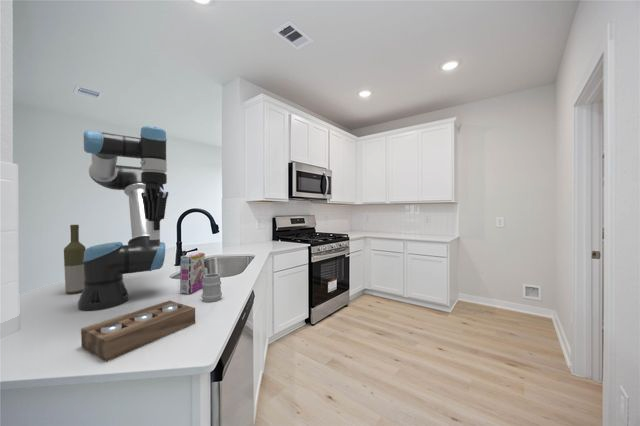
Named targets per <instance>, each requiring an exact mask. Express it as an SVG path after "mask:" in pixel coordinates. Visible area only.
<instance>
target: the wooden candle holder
mask: <svg viewBox="0 0 640 426" xmlns="http://www.w3.org/2000/svg"><path fill="white" fill-rule="evenodd" d="M170 304H177V305H178V309H176V310H173V311H170V312H168V313H166V312H163V311H162V307H164V306H166V305H170ZM142 313H152V316H153V318H151V319H148V320H145V321H142V322H139V323H137V322H135V321H134V317H135V316H136V315H139V314H142ZM112 323H121V324H122V329H120V330H117V331H114V332H111V333H108V334H106V335H103V334H101V328H102V327H103V326H105V325H108V324H112ZM194 324H196V307H193V306H189V305H186V304H183V303H181V302H175V301H173V300H168V301H163V302H161V303H157V304H153V305H151V306H148V307H143V308H141V309H139V310H135V311H132V312H128V313H126V314H122V315H119V316H115V317H114V318H110V319H107V320H103V321H100V322H98V323H94V324H91V325H88V326H85V327H82V328H81V329H80V331H81V332H80V333H81V335H80V337H81V345H80V346H81V348H83V349H84V350H87V351H88V353H91V354H92V355H95V356H96V357H97V358H100V359H101V360H103V361H104V362H109V361H111V360H114V359H115V358H117V357H120V356H122V355H125V354H127V353H130V352H132V351H134V350H137V349H139V348H141V347H144V346H146V345H147V344H150V343H153V342H155V341H157V340H160V339H162V338H164V337H166V336H169V335H171V334H174V333H176V332H177V331H178V332H179V331H180V330H183V329H185V328H188V327H189V326H192V325H194Z"/></svg>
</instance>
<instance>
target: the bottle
mask: <svg viewBox="0 0 640 426" xmlns="http://www.w3.org/2000/svg"><path fill="white" fill-rule="evenodd" d="M69 228H70V242H69V243H68V244H67V245H66V246H65V247H64V248H63V261H64V262H63V264H64V265H63V268H64V283H65V284H64V285H65V288H64V289H65V294H67V295H73V294H74V295H75V294H80V293H82V291H83V288H84V262H83V260H84V251H85V250H86V249H87V248H86V246H85V245H84V244H83V243H81V242H80V237H79V236H80V235H79V233H80V231H79V230H80V229H79V228H80V225H79V224H70V226H69Z"/></svg>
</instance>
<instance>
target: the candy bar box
mask: <svg viewBox="0 0 640 426" xmlns="http://www.w3.org/2000/svg"><path fill="white" fill-rule="evenodd" d="M205 257H206V256H205V253H203V252H194V253H189V254H186V255H181V256H180V271H179V272H180V283H179V289H180V290H179V294H180V295H191V294H193V293H195V292H197V291H199V290H201V289H202V281H203V280H202V279H203V273H204V268H206V267H205V261H206V260H205V259H206V258H205Z"/></svg>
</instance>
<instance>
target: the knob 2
mask: <svg viewBox="0 0 640 426" xmlns="http://www.w3.org/2000/svg"><path fill="white" fill-rule="evenodd" d="M151 318H153V316H152V313H142V314H139V315H136V316H135V317H134V321H135V322H137V323H139V322H142V321H145V320H148V319H151Z"/></svg>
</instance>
